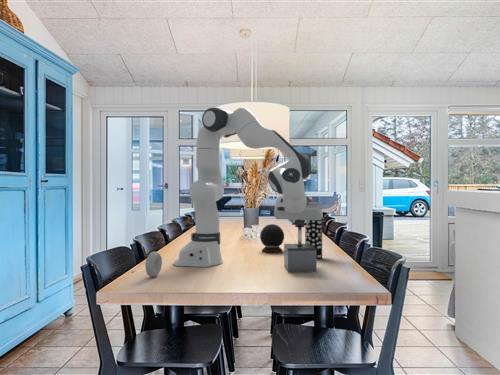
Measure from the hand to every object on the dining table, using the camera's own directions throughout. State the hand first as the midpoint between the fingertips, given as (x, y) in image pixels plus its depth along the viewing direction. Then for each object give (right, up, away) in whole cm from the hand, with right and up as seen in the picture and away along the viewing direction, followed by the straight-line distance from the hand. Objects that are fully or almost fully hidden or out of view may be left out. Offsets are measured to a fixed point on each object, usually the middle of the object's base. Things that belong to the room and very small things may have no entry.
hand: (300, 223), depth 160 cm
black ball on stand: (-10, -20, +42) cm, 48 cm away
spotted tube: (+10, -20, +24) cm, 32 cm away
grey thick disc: (-60, -20, -15) cm, 65 cm away
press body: (0, -19, -1) cm, 19 cm away
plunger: (0, -15, -1) cm, 15 cm away
